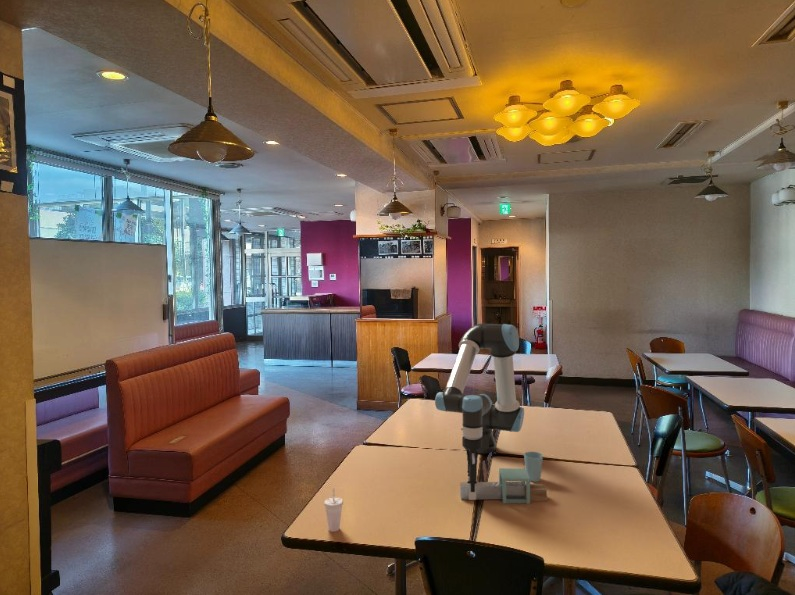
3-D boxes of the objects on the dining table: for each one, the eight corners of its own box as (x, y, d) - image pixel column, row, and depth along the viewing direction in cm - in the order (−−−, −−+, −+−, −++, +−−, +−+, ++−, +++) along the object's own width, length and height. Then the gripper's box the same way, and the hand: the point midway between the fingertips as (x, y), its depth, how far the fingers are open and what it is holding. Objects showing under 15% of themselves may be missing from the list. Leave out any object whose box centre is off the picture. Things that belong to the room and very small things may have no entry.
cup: (538, 484, 212) (538, 459, 211) (520, 480, 217) (520, 455, 216) (545, 478, 218) (546, 454, 217) (528, 474, 222) (528, 450, 222)
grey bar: (460, 495, 203) (460, 482, 202) (522, 494, 201) (522, 481, 201) (461, 499, 199) (460, 486, 198) (524, 499, 197) (524, 486, 197)
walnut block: (522, 495, 202) (522, 484, 202) (543, 495, 202) (543, 484, 201) (525, 501, 197) (525, 489, 197) (546, 501, 197) (546, 489, 196)
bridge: (499, 492, 205) (499, 468, 204) (524, 492, 204) (524, 468, 204) (502, 503, 195) (502, 478, 194) (530, 503, 194) (530, 478, 194)
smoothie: (344, 524, 180) (343, 484, 180) (342, 533, 174) (342, 492, 173) (325, 524, 180) (324, 484, 179) (323, 534, 174) (322, 492, 173)
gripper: (460, 429, 208) (460, 487, 209) (463, 443, 191) (463, 506, 192) (479, 430, 208) (479, 487, 209) (484, 444, 191) (484, 506, 192)
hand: (471, 496), depth 200 cm, fingers closed on grey bar, 4 cm apart
